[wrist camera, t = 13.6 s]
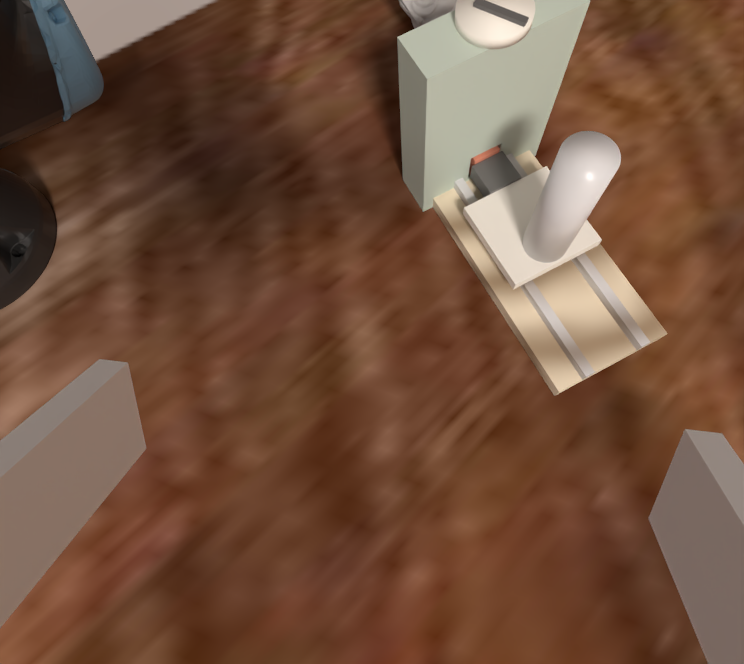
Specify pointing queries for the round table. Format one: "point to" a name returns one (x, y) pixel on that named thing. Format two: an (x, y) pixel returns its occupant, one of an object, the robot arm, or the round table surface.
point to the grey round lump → (426, 10)
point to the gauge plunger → (483, 156)
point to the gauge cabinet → (480, 85)
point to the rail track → (557, 299)
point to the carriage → (542, 206)
